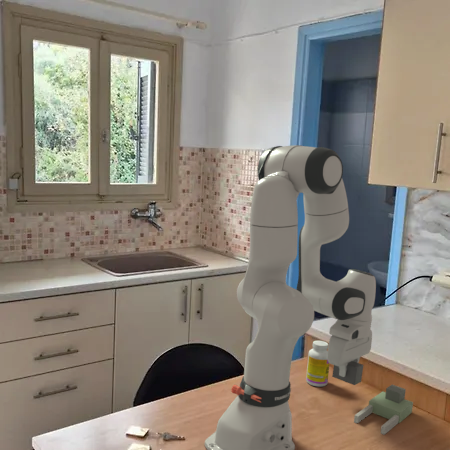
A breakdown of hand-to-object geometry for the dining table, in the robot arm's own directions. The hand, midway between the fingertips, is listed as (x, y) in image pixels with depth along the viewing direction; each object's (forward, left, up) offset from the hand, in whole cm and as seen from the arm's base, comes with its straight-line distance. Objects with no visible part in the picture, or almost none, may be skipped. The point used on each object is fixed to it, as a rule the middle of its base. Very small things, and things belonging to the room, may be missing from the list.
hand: (347, 373), depth 147 cm
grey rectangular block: (0, 0, -2) cm, 2 cm away
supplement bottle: (+6, +13, -9) cm, 17 cm away
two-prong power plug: (+1, -11, -9) cm, 14 cm away
